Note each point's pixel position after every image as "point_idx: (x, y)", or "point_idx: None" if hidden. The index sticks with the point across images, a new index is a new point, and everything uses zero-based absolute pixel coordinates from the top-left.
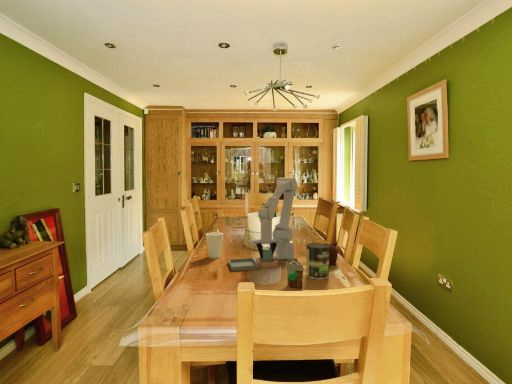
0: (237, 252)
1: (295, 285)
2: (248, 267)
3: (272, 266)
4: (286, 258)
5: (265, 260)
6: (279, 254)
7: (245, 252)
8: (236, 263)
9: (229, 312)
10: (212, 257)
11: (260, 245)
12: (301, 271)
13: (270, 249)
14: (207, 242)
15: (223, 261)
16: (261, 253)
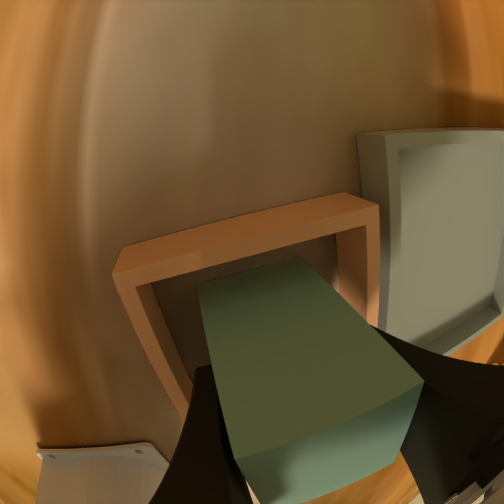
0: (380, 470)
1: None
2: (452, 129)
3: (188, 231)
4: (82, 451)
5: (297, 295)
6: (138, 483)
7: None
8: (475, 284)
9: None
10: (497, 364)
11: (495, 440)
12: None
13: (261, 472)
14: None
15: (488, 331)
16: (403, 350)
